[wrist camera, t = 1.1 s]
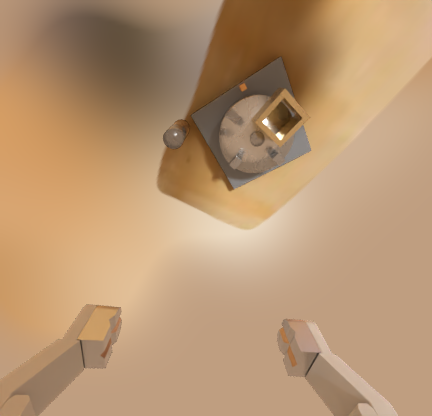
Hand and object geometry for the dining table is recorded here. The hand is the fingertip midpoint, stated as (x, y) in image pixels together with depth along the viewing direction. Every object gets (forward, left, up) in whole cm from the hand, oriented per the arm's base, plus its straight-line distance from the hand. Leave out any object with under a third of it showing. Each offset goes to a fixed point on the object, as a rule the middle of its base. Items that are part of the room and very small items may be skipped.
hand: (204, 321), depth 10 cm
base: (-7, +2, -35) cm, 36 cm away
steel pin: (+4, -5, -35) cm, 36 cm away
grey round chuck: (-8, +2, -33) cm, 34 cm away
